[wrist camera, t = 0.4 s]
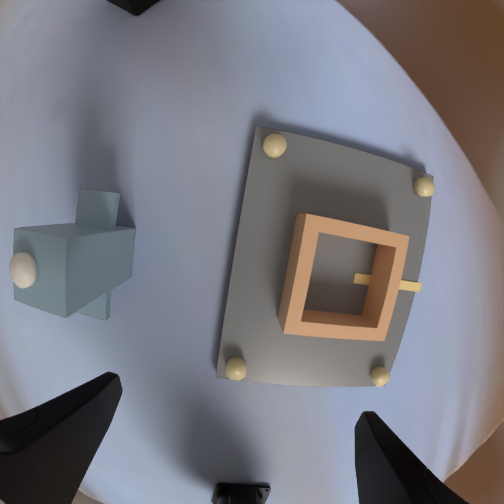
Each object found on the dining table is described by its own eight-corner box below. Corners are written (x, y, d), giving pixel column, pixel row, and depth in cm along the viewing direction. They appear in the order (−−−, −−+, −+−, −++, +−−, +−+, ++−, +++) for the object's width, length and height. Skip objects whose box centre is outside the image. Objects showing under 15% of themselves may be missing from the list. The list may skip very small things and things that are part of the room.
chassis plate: (384, 380, 24) (402, 401, 20) (216, 371, 23) (213, 397, 19) (431, 178, 22) (458, 174, 18) (255, 130, 21) (259, 112, 17)
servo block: (129, 306, 22) (64, 365, 11) (88, 296, 22) (13, 342, 11) (140, 196, 21) (67, 184, 10) (97, 191, 21) (12, 180, 10)
